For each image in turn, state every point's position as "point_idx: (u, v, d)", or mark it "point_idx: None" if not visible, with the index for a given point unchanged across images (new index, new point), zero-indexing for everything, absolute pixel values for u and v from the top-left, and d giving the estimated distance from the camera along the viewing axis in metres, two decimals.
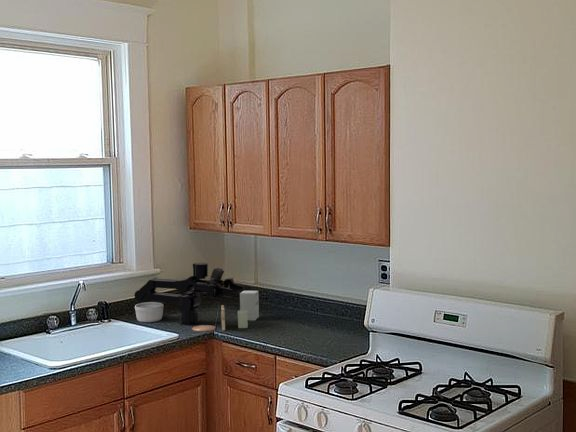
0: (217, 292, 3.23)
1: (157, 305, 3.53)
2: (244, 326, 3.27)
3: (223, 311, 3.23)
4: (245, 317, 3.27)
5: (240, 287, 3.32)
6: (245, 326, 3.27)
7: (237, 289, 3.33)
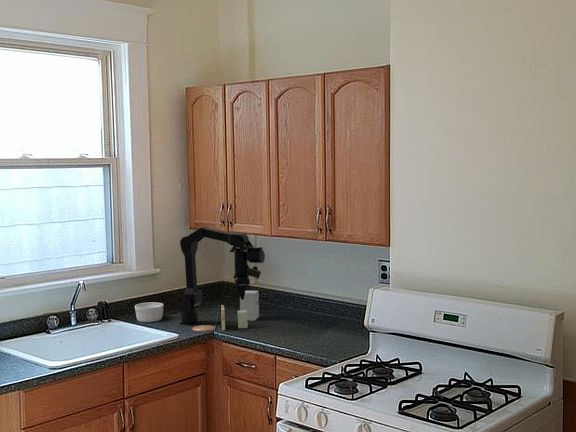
0: (240, 285, 3.20)
1: (157, 305, 3.53)
2: (244, 326, 3.27)
3: (223, 311, 3.23)
4: (245, 317, 3.27)
5: None
6: (245, 326, 3.27)
7: None
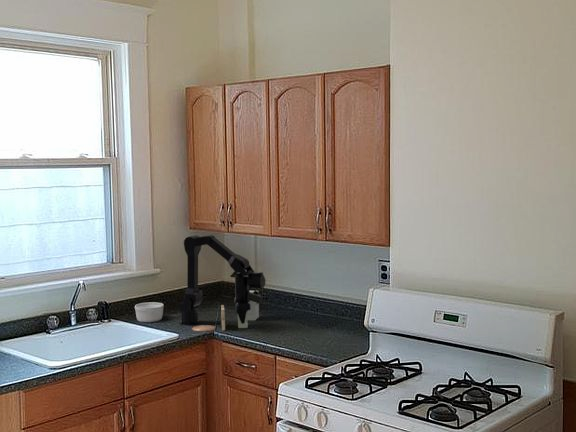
0: None
1: (157, 305, 3.53)
2: (244, 326, 3.27)
3: (223, 311, 3.23)
4: (245, 317, 3.27)
5: None
6: (245, 326, 3.27)
7: None
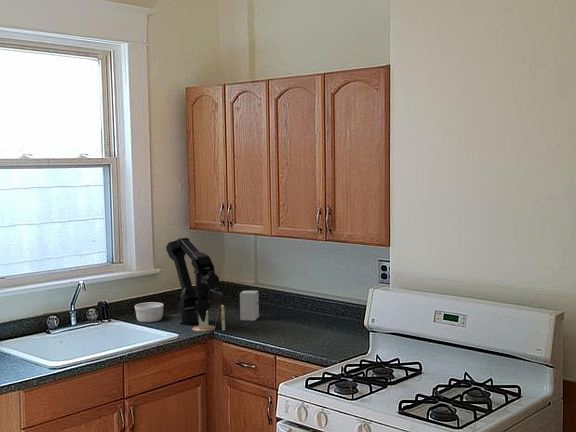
0: None
1: (157, 305, 3.53)
2: (205, 327, 3.25)
3: (223, 311, 3.23)
4: (206, 318, 3.25)
5: None
6: (206, 327, 3.25)
7: None
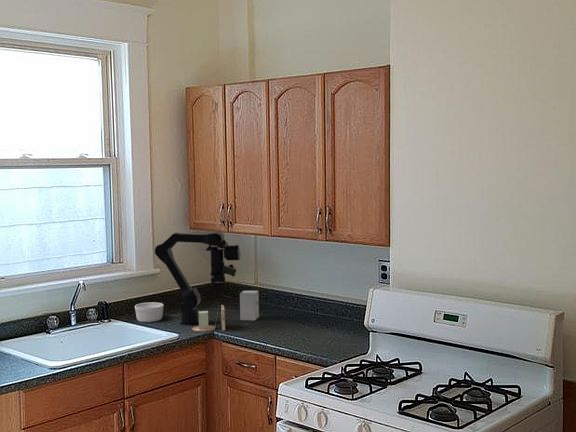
0: None
1: (157, 305, 3.53)
2: (205, 327, 3.25)
3: (223, 311, 3.23)
4: (206, 318, 3.25)
5: None
6: (206, 327, 3.25)
7: None
